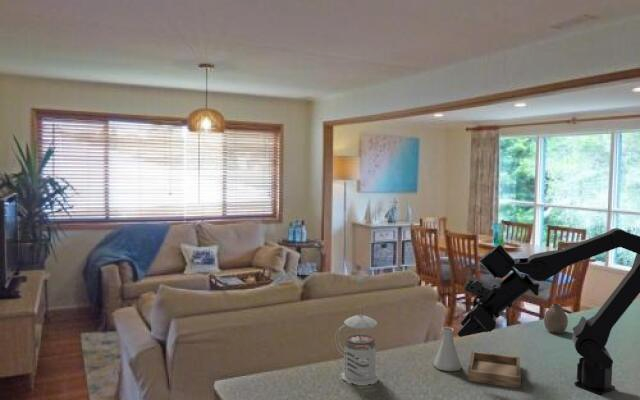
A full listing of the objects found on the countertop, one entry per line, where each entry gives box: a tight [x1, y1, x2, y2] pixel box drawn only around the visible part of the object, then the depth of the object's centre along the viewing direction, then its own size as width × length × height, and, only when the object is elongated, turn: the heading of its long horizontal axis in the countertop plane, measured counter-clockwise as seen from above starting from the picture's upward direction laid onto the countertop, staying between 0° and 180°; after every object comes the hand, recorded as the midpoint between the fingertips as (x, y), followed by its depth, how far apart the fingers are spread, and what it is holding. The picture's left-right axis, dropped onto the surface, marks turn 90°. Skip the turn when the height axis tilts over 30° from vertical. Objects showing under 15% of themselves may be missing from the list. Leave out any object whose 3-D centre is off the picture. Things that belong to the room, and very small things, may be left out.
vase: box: [543, 303, 569, 335], centre depth 162 cm, size 7×7×9 cm
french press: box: [334, 276, 380, 386], centre depth 125 cm, size 10×12×25 cm
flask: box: [432, 326, 462, 372], centre depth 133 cm, size 7×7×10 cm
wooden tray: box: [467, 350, 522, 389], centre depth 129 cm, size 12×14×2 cm
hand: (460, 329), depth 131 cm, fingers open, 9 cm apart
